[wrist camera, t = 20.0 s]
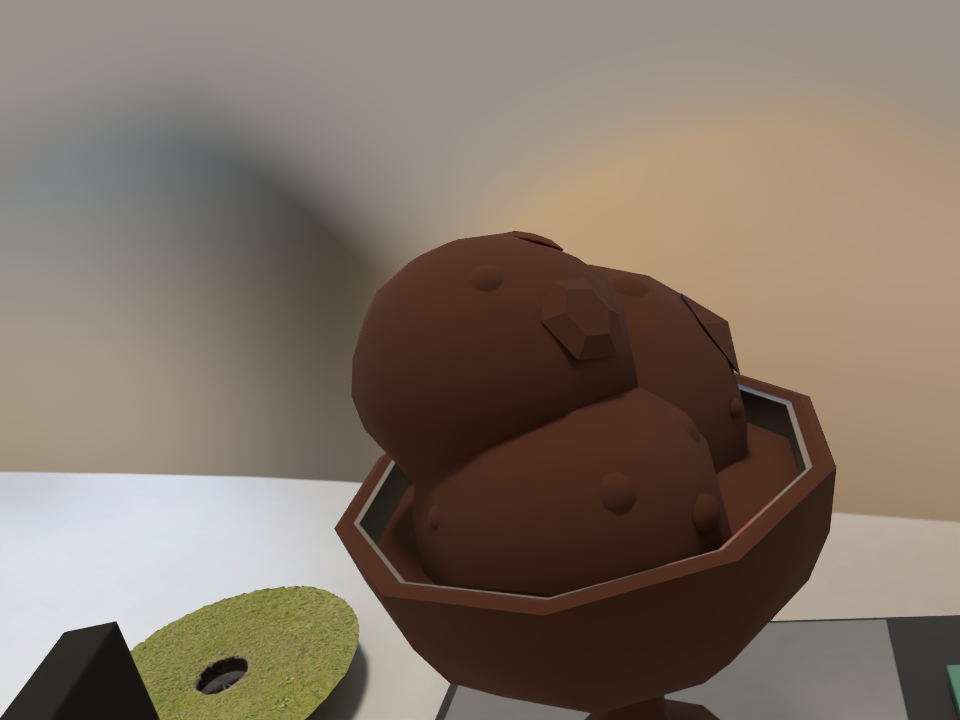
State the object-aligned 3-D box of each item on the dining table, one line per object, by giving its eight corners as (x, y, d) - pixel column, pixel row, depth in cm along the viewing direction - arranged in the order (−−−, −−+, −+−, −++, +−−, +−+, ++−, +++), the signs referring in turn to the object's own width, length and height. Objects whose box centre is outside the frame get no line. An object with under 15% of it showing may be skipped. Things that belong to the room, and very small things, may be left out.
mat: (233, 869, 28) (212, 821, 27) (27, 788, 34) (6, 748, 33) (425, 639, 36) (412, 599, 36) (235, 607, 43) (221, 573, 42)
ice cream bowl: (849, 1078, 16) (719, 282, 11) (363, 902, 22) (144, 332, 17) (906, 677, 24) (845, 126, 20) (543, 629, 30) (430, 196, 25)
